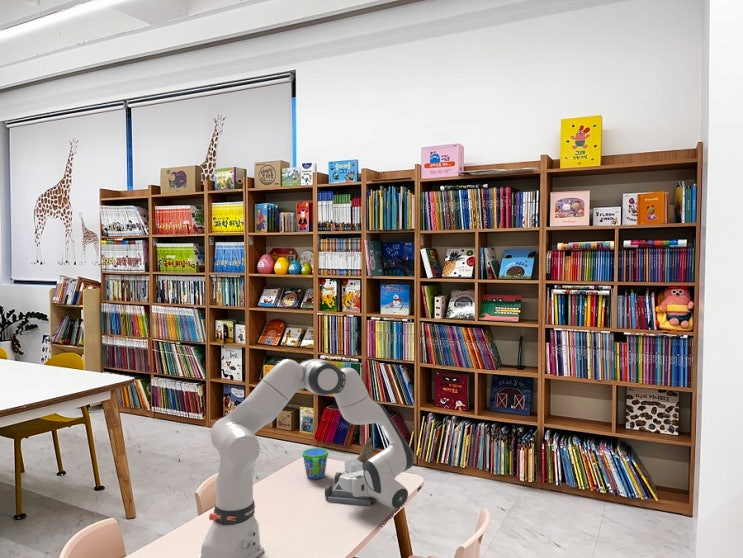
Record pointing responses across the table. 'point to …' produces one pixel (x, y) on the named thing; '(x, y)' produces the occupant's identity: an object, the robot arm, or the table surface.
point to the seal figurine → (366, 452)
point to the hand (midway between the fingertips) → (355, 470)
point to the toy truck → (345, 494)
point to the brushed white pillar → (353, 466)
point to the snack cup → (315, 462)
